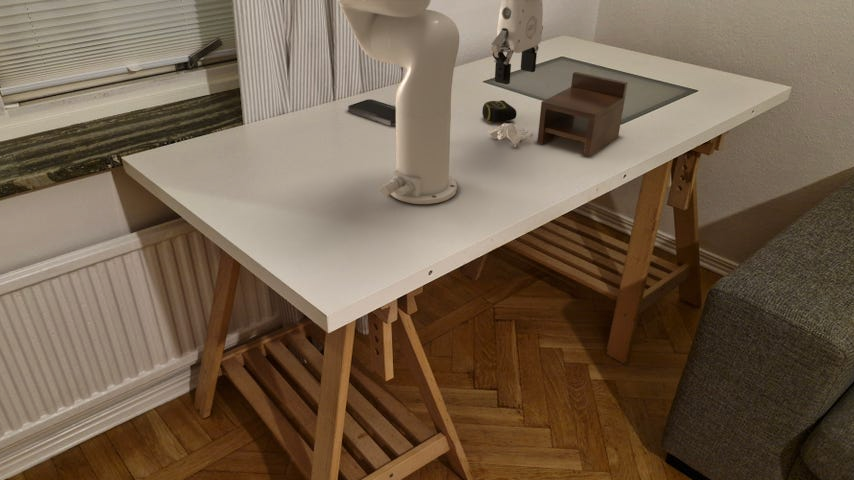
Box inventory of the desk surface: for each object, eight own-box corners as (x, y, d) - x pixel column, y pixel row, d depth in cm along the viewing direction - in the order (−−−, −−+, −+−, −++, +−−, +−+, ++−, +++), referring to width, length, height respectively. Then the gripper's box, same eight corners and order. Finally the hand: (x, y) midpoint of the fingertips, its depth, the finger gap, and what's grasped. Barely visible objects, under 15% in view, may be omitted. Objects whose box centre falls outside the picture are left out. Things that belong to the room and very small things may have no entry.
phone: (369, 98, 167) (415, 112, 158) (369, 103, 167) (415, 117, 159) (345, 106, 162) (392, 121, 153) (345, 111, 162) (392, 126, 154)
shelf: (588, 157, 140) (597, 99, 134) (537, 143, 147) (542, 87, 140) (618, 137, 150) (627, 82, 143) (568, 124, 156) (575, 71, 149)
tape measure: (517, 123, 156) (518, 107, 154) (488, 126, 155) (490, 110, 153) (504, 113, 162) (505, 98, 160) (477, 116, 160) (478, 100, 158)
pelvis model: (536, 126, 144) (514, 131, 141) (533, 146, 147) (511, 151, 143) (509, 115, 150) (487, 119, 146) (506, 134, 152) (484, 139, 148)
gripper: (514, -3, 123) (508, 91, 132) (561, -18, 134) (552, 69, 144) (479, -8, 127) (475, 84, 136) (528, -23, 138) (521, 63, 148)
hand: (515, 76), depth 140 cm, fingers open, 9 cm apart
